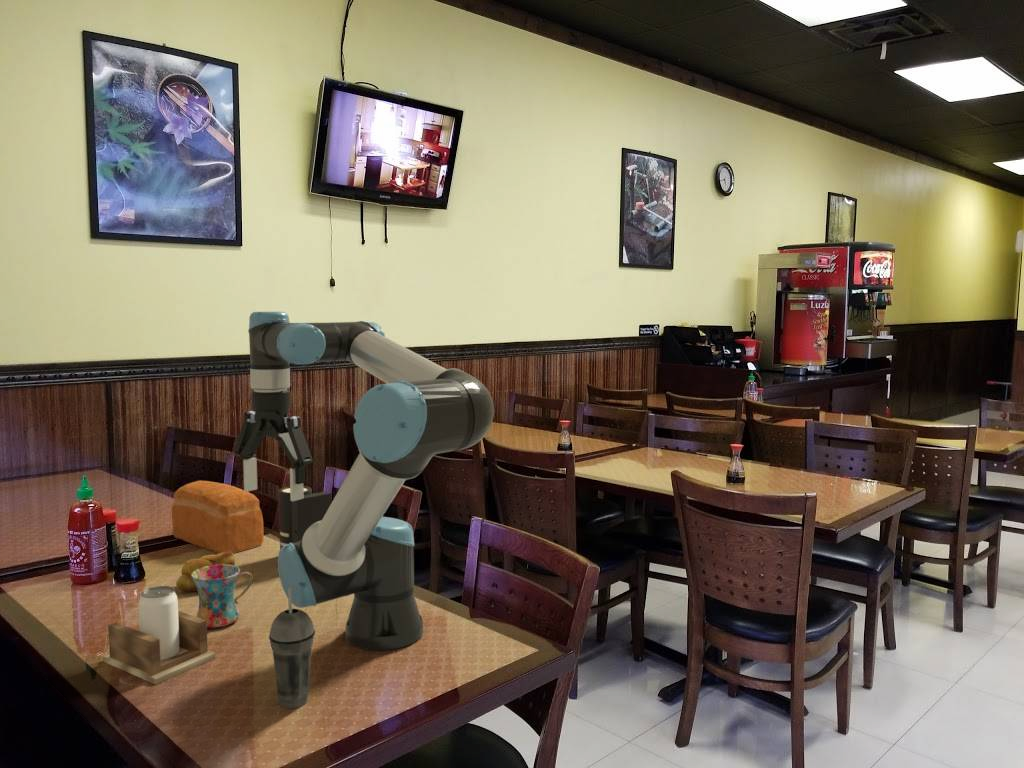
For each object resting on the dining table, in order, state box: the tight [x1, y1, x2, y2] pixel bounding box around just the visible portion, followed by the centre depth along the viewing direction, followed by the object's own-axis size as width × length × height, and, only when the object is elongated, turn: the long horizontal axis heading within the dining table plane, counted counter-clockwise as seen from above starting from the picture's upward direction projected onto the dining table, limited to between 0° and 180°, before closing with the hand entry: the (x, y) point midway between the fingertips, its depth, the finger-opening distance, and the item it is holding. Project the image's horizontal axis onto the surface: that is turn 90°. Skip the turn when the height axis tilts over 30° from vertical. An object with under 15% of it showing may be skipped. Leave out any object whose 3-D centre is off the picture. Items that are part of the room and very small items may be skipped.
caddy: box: [102, 610, 216, 685], centre depth 144 cm, size 16×12×7 cm
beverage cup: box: [268, 586, 316, 709], centre depth 129 cm, size 7×7×20 cm
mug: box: [191, 564, 254, 629], centre depth 162 cm, size 12×9×11 cm
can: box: [138, 585, 179, 661], centre depth 144 cm, size 6×6×12 cm
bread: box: [171, 479, 265, 554], centre depth 214 cm, size 14×26×16 cm, turn 52°
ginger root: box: [175, 552, 236, 593], centre depth 181 cm, size 13×10×8 cm
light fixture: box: [278, 485, 332, 550], centre depth 199 cm, size 10×14×18 cm
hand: (273, 495), depth 158 cm, fingers open, 13 cm apart
